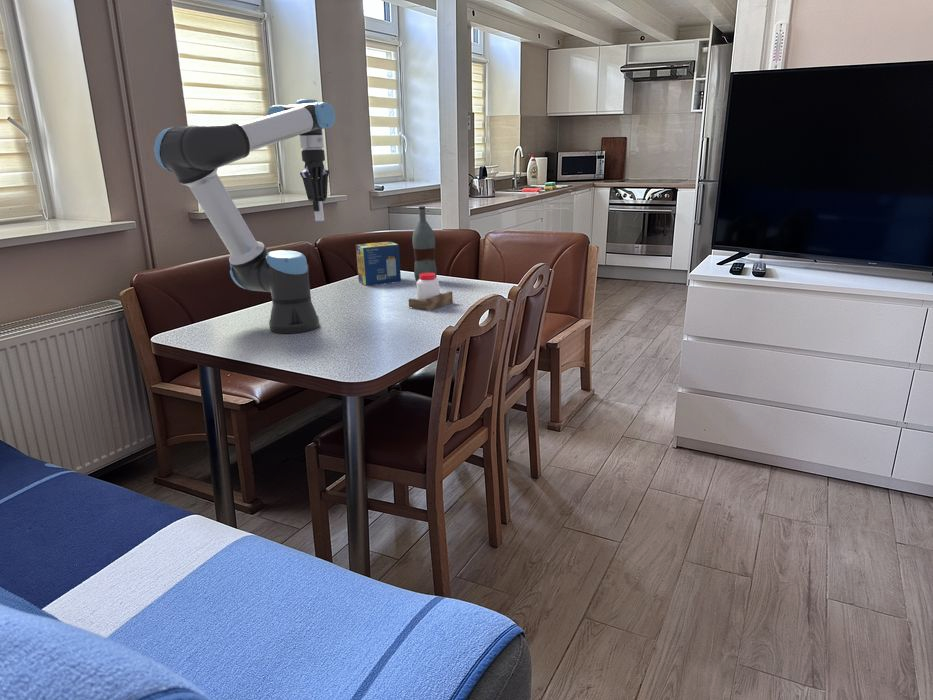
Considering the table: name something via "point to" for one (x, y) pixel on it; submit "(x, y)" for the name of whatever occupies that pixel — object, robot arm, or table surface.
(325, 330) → the table surface
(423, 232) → the grey-green bottle
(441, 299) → the dock
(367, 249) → the protein box
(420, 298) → the pill bottle
